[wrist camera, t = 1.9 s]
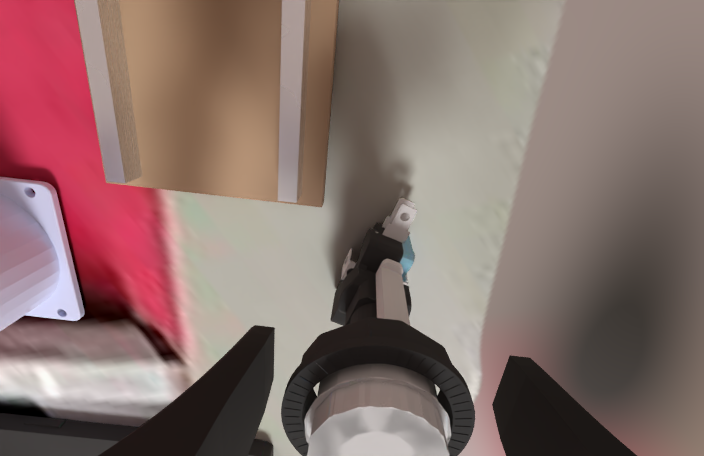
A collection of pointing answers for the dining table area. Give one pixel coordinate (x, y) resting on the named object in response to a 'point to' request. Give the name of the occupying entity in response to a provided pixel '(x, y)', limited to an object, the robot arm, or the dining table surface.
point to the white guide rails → (117, 107)
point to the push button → (377, 366)
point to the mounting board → (222, 95)
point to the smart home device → (71, 437)
